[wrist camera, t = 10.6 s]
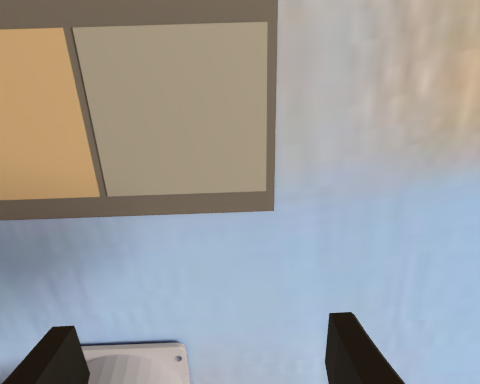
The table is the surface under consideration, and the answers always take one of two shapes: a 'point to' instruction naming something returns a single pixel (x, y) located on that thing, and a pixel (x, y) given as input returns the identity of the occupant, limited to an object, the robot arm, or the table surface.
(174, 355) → the robot arm
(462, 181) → the table surface
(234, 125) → the game board
